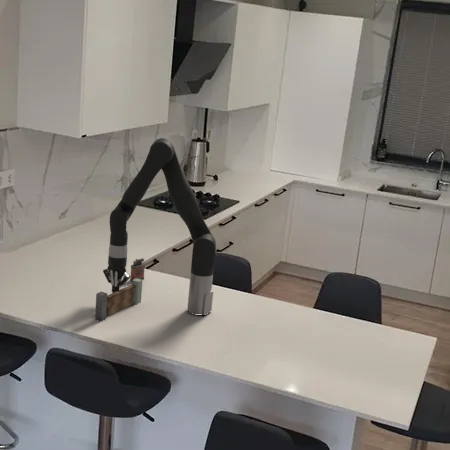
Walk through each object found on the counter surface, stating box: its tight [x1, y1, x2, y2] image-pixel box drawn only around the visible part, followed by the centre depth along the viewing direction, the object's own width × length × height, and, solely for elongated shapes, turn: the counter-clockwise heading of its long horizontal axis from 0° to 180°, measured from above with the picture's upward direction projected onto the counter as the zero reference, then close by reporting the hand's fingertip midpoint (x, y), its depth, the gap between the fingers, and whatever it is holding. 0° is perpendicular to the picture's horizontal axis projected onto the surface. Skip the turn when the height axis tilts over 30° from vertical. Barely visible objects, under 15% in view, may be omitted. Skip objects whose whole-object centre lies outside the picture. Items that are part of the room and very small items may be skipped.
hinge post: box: [94, 291, 108, 322], centre depth 270 cm, size 3×3×11 cm
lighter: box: [129, 257, 146, 283], centre depth 316 cm, size 8×3×10 cm, turn 143°
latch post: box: [131, 278, 143, 305], centre depth 291 cm, size 3×3×10 cm
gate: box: [106, 284, 135, 317], centre depth 281 cm, size 17×2×8 cm, turn 151°
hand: (115, 293), depth 288 cm, fingers closed
